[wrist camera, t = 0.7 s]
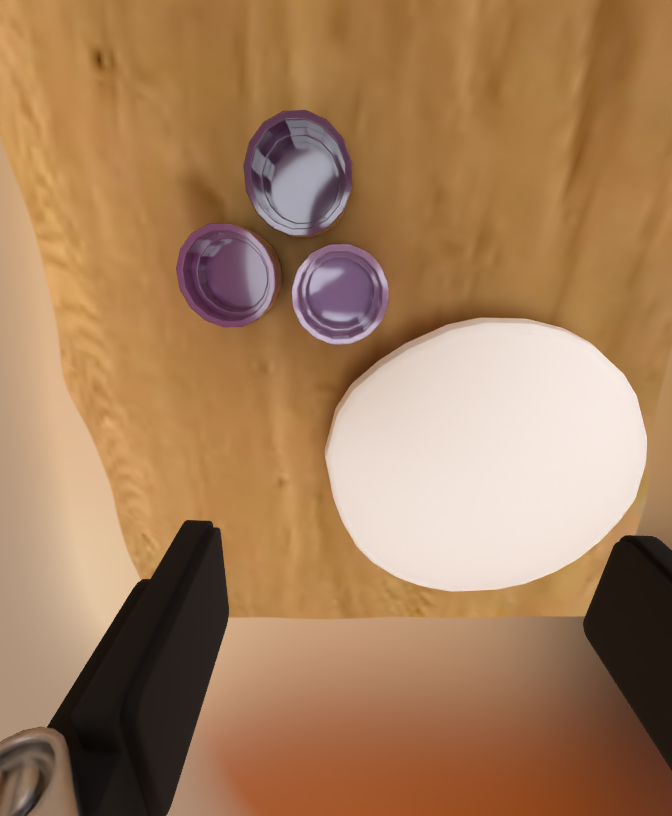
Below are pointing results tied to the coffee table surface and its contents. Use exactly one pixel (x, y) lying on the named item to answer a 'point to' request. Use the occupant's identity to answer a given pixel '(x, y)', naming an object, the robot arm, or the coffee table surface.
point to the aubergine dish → (298, 173)
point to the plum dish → (228, 274)
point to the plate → (485, 454)
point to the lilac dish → (340, 294)
